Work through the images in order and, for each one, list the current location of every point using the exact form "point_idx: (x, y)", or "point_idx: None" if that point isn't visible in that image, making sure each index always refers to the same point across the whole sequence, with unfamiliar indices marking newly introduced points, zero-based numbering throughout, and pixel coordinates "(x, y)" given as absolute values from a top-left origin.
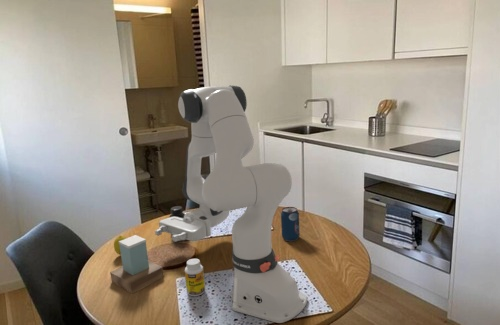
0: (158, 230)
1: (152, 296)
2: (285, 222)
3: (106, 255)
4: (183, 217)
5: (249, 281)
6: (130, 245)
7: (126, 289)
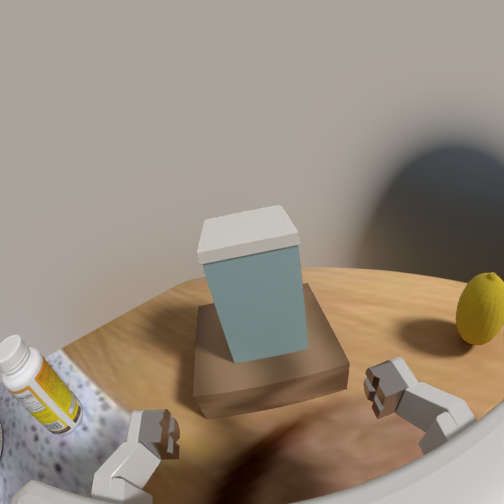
0: (381, 375)
1: (151, 354)
2: None
3: None
4: None
5: None
6: (205, 222)
7: None
